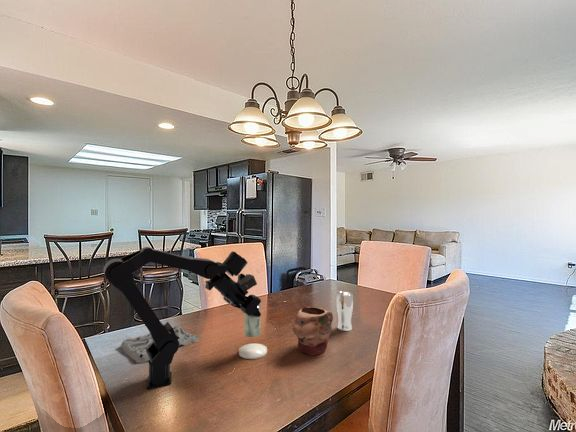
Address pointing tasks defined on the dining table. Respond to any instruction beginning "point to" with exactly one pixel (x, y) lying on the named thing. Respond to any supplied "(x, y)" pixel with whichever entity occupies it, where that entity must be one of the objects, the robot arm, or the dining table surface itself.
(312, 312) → the decorative planter
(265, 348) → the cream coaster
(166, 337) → the robot arm
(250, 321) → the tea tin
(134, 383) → the dining table surface
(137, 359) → the wall plaque
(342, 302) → the beer glass
